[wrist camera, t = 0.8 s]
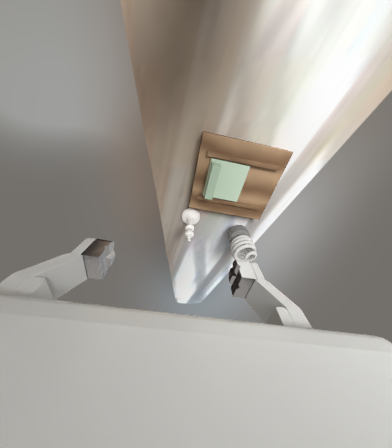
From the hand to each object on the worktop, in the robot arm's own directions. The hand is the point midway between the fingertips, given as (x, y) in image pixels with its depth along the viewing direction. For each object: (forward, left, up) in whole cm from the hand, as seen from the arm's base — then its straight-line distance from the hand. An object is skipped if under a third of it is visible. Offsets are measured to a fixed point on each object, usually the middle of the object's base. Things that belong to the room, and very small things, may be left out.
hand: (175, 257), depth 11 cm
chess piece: (+14, +2, -29) cm, 32 cm away
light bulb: (+15, +15, -29) cm, 36 cm away
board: (+2, +10, -29) cm, 30 cm away
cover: (+2, +8, -26) cm, 27 cm away
